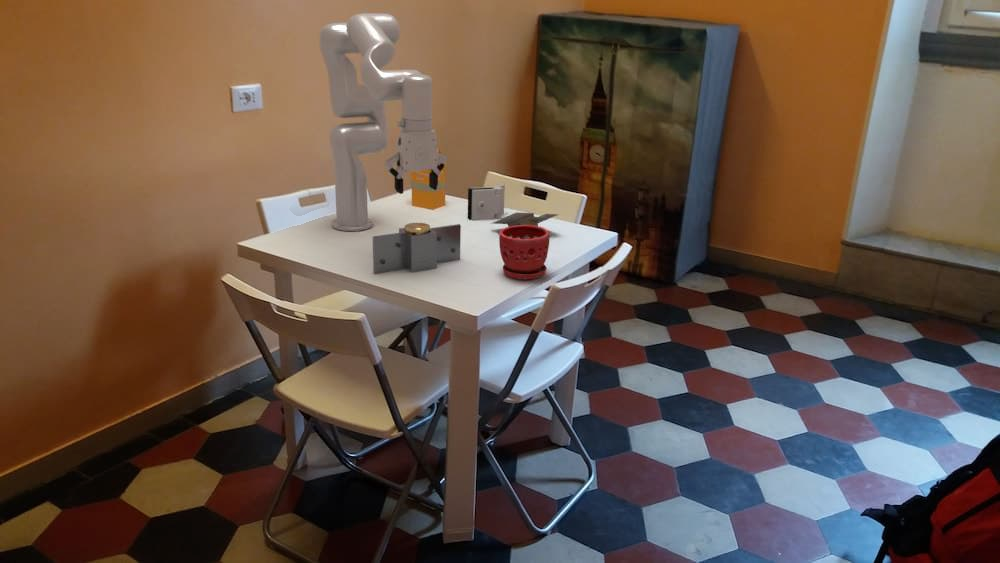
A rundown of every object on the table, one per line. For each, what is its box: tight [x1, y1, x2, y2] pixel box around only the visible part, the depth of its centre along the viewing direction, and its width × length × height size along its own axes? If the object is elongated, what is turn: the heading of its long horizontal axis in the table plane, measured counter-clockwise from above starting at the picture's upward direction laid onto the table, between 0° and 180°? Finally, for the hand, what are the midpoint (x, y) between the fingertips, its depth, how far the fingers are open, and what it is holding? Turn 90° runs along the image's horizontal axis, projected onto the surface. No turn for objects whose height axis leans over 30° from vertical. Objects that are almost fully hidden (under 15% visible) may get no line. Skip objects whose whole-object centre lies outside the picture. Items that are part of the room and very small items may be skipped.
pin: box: [404, 222, 431, 235], centre depth 209 cm, size 7×7×11 cm
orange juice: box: [410, 148, 447, 211], centre depth 264 cm, size 8×9×20 cm
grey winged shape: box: [490, 211, 560, 237], centre depth 239 cm, size 16×9×15 cm
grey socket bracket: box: [372, 223, 462, 275], centre depth 209 cm, size 8×26×10 cm, turn 122°
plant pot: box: [498, 225, 550, 281], centre depth 206 cm, size 13×13×12 cm
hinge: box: [467, 184, 506, 221], centre depth 255 cm, size 14×5×10 cm, turn 119°
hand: (416, 190), depth 204 cm, fingers open, 9 cm apart
